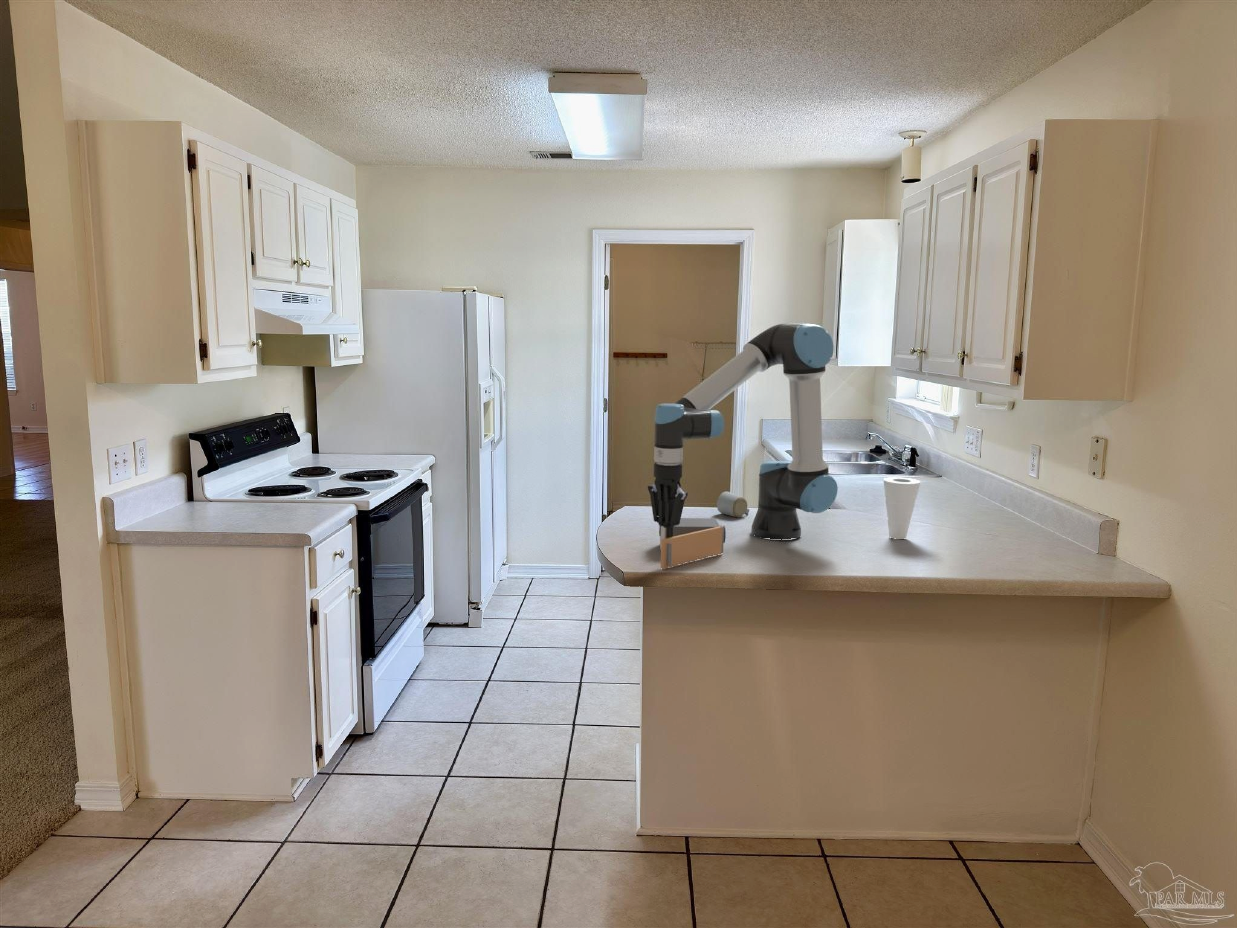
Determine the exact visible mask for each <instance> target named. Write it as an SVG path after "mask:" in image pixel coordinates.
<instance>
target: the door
mask: <svg viewBox="0 0 1237 928" xmlns="http://www.w3.org/2000/svg"><path fill="white" fill-rule="evenodd" d="M724 526H725V525H720V526H719V527H715V528H710V529H706V530H701V531H697V532H692V533H688V534H683V535H679V536H674V537H670V538H665V539H661V550H660V569H661V568H662V569H661V570H663V569H664V570H667V569H666V568H668V567H671V568H673V567H672V566H675V567H677V566H676V565H678V564H683V563H685V562H690V561H695V560H697V559H702V558H706V557H708V556H713V555H718V554H721V553H723V554H724V544H725V543H724ZM718 556H719V555H718ZM695 562H696V561H695ZM683 565H684V564H683ZM668 569H669V568H668Z"/></svg>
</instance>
